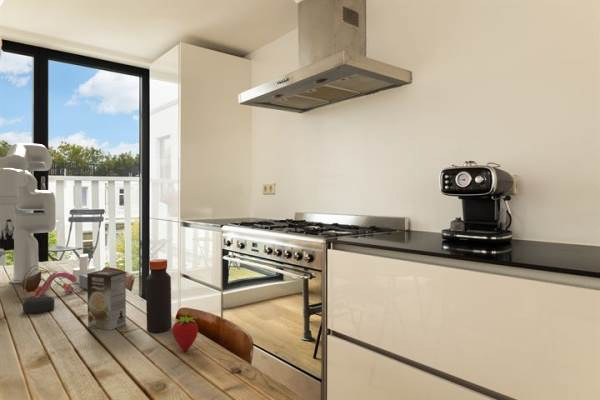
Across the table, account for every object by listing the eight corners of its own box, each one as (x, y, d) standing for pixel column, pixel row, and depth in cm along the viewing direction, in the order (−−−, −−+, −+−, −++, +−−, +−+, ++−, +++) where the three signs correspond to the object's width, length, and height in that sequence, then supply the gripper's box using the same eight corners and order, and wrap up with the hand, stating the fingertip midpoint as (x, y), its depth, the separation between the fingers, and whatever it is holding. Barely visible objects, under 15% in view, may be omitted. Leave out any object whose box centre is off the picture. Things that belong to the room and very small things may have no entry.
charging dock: (79, 286, 166) (79, 273, 166) (84, 285, 167) (84, 273, 167) (91, 291, 155) (91, 278, 155) (96, 291, 157) (96, 277, 157)
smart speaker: (57, 310, 131) (57, 298, 131) (26, 316, 124) (26, 304, 124) (50, 305, 137) (50, 294, 137) (20, 311, 130) (20, 299, 130)
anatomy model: (84, 283, 155) (51, 255, 148) (51, 314, 148) (15, 286, 141) (79, 278, 164) (48, 252, 157) (48, 307, 157) (13, 281, 150)
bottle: (148, 335, 106) (146, 263, 106) (145, 327, 112) (144, 259, 112) (173, 330, 109) (172, 261, 109) (169, 323, 115) (168, 257, 115)
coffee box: (86, 327, 113) (85, 273, 113) (103, 320, 119) (103, 269, 119) (110, 330, 110) (109, 275, 110) (127, 323, 116) (126, 270, 116)
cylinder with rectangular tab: (74, 280, 178) (73, 254, 178) (96, 278, 182) (95, 253, 182) (72, 284, 170) (71, 257, 170) (94, 281, 174) (94, 255, 174)
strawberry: (190, 343, 99) (189, 305, 99) (203, 352, 94) (203, 311, 93) (168, 349, 95) (167, 310, 95) (180, 359, 90) (179, 317, 90)
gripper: (-11, 201, 146) (-10, 248, 146) (-3, 201, 134) (-2, 252, 134) (13, 201, 151) (14, 246, 151) (23, 201, 139) (24, 250, 139)
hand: (6, 248), depth 142 cm, fingers open, 6 cm apart
